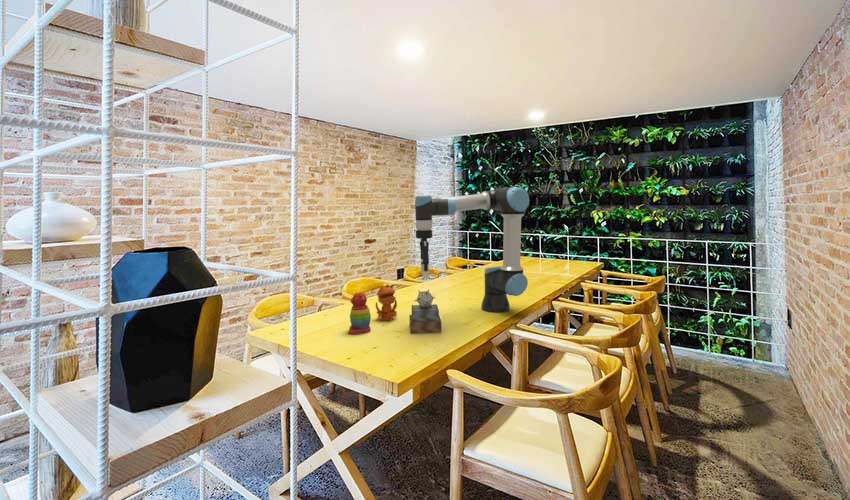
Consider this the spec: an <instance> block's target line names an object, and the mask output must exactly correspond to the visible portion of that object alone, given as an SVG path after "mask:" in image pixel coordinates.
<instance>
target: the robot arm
mask: <svg viewBox="0 0 850 500" xmlns="http://www.w3.org/2000/svg"><path fill="white" fill-rule="evenodd" d="M529 196H530V195H529V194H528V192H527V191H526V189H524V188H522V187H520V186H519V187H517V186H512V187H499V188H494V189H490V190H486V191H482V192H480V193H477V194H475V193H474V194H468V195H458V196H457V195H455V196H448V197H440V198H433V197H432V195H431V194H428V195H427V194H425V195H424V194H422V195H421V194H419V195H416V196H415V199H414V213H415V222H414V225H415V229H416V230H415V238H416V239H420V240H419V249H420V273H421V274H422V279H424V280H425V279H429V278H430V264H429V263H430V258H429V257H430V256H429V255H430V254H429V250H430V249H429V246H430V242H429V240H428V239H432V238H433V230H432V229H433V217H435V216H439V217H440V216H453V215H455V214H456V213H457V212H465V211H472V210H480V209H481V210H482V209H483V210H484V211H489V210H494V211H500V216H502V218H503V234H502V235H503V237H502V239H503V243H502V244H503V247H502V256H503V257H502V258H503V259H502V266H501V265H500V266H490V267H489V266H488V267H486V268H485V269H484V295H483V299H482V300H481V310H483V311H486V312H489V313H504V312H508V311H510V310H509V309H511V308H510V302H509V301H510V300H509V299H508V296H513V297H517V296H521V295H522V294H524V292H526V290H527V288H528V285H529V284H528V283H529V281H528V280H529V279H528V278H527V277H526V275H525V274H524V268H523V266H521V247H522V246H521V244H522V243H521V241H522V239H521V238H522V217H524V216H525V211H526V210H527V208H528V207H529V205H530V197H529Z"/></svg>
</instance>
